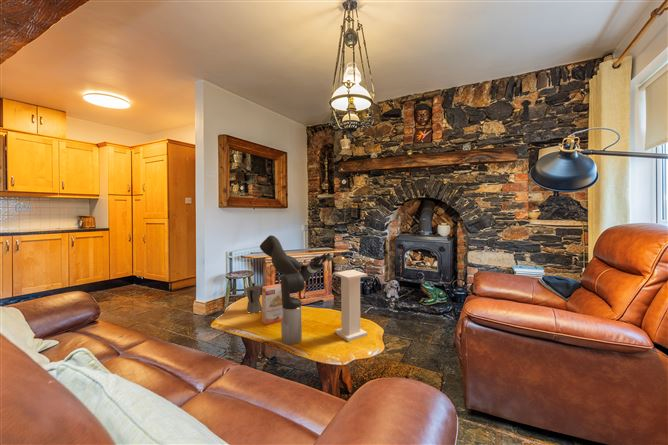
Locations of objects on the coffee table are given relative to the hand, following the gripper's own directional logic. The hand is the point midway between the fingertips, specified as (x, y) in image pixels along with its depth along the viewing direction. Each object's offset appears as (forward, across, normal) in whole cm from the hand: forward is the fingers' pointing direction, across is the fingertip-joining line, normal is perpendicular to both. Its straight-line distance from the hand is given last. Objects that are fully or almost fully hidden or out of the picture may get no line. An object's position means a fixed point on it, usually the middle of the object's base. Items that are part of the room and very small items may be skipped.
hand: (327, 254), depth 165 cm
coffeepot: (-51, -32, +15) cm, 62 cm away
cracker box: (-33, -26, +26) cm, 49 cm away
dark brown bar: (+4, 0, +5) cm, 7 cm away
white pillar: (0, 0, +44) cm, 44 cm away
